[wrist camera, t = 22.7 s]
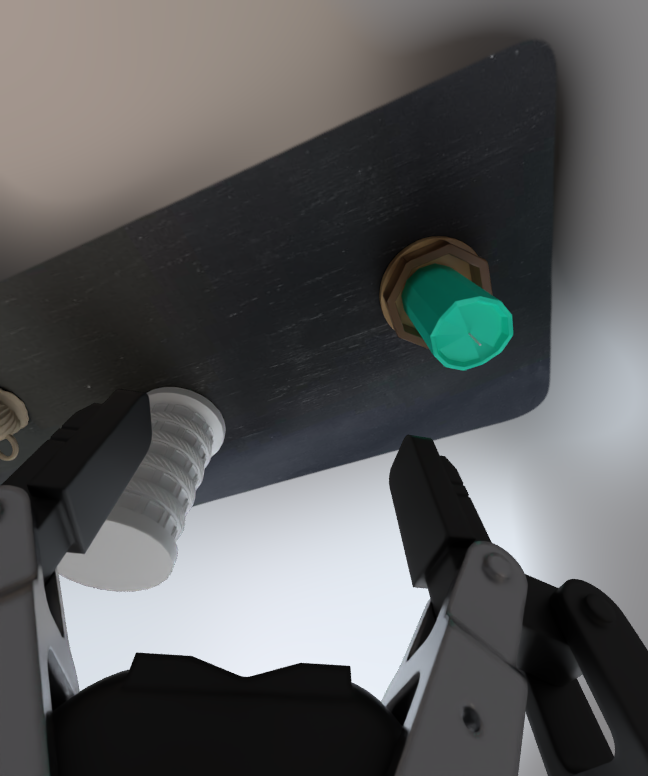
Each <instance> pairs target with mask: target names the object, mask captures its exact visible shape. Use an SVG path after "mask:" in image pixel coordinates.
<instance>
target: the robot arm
mask: <svg viewBox="0 0 648 776" xmlns="http://www.w3.org/2000/svg"><path fill="white" fill-rule="evenodd" d="M151 440H152V425H151V413H150V401H149V396H148V394H147V393H142V392H136V391H130V390H123V389H117V390H116V391H114V392H113V393H112V395H111V396H110V397H109V398H108V399H107V400H106V401H105V402H104V403H103V404H98V403H93V404H91V405H90V406H88V407H86V408H84V409H82V410H80V411H78V412H76V413H75V414H74V415H73V416H72V417H71V418H69V419H68V420H67V421H66V422H65V423H64V424H63V425H62V428H61V429H60V428H59V429H58V430H57V431H56V432H55V433H54V434H53V435H52V436H51V439H50V440H47V441H46V442H45V443H44V444H43V445H42V446H41V447H40V448H39V449H38V450H37V451H36V452H35V453H34V454H33V455H32V456H31V457H29V458H28V459H27V460H26V461H25V462H24V463H23V464H22V465H21V466H20V467H19V468H18V469H17V470H16V471H15V472H14V473H13V474H12V475H11V476H10V477H9V478H8V479H7V480H6V481H5V482H4V483H3V484H2V485H0V776H518V770H519V761H520V754H521V745H522V736H523V728H524V720H525V711H526V714H527V717H528V720H529V723H530V725H531V728H532V731H533V733H534V737H535V740H536V743H537V745H538V748H539V751H540V754H541V757H542V760H543V763H544V766H545V768H546V771H547V774H548V776H648V650H647V649H646V647H645V646H644V644H643V643H642V641H641V640H640V638H639V636H638V635H637V633H636V632H635V630H634V629H633V627H632V626H631V624H630V623H629V621H628V620H627V618H626V617H625V615H624V614H623V612H622V611H621V610H620V608H619V607H618V606H617V605H616V604H615V603H614V602H613V601H612V600H611V599H610V598H609V597H608V596H607V595H606V594H605V593H603V592H602V591H601V590H599V589H598V588H596V587H595V586H593V585H591V584H589V583H587V582H585V581H582V580H578V579H570V580H568V581H566V582H565V583H564V584H563V585H562V586H561V587H560V588H556V587H554V586H552V585H549V584H547V583H545V582H542V581H540V580H538V579H535V578H533V577H531V576H528V575H526V574H524V572H523V570H522V568H521V566H520V565H519V564H518V562H517V561H516V560H515V559H514V558H513V557H512V556H511V555H510V554H509V553H508V552H507V551H505V550H504V549H503V548H501V547H499V546H498V545H495V544H493V543H492V542H491V540H490V538H489V536H488V534H487V532H486V530H485V528H484V526H483V524H482V521H481V519H480V517H479V515H478V513H477V511H476V509H475V507H474V505H473V503H472V501H471V498H469V497H468V495H469V494H468V492H467V490H466V488H465V486H463V482H462V480H461V478H460V476H459V473H458V471H457V469H456V468H455V467H454V466H453V465H452V464H451V463H450V461H449V460H448V459H447V458H446V457H445V456H440V455H439V453H438V451H437V449H436V446H435V444H434V442H433V440H432V439H431V438H426V437H419V436H413V435H407V436H406V437H405V438H404V440H403V442H402V444H401V447H400V449H399V451H398V453H397V456H396V458H395V460H394V462H393V465H392V467H391V470H390V475H389V485H390V491H391V495H392V499H393V503H394V507H395V512H396V516H397V520H398V525H399V529H400V533H401V537H402V542H403V546H404V550H405V555H406V559H407V563H408V567H409V572H410V575H411V580H412V585H413V587H417V588H428V591H429V594H430V600H429V601H428V603H427V604H426V607H425V609H424V611H423V614H422V616H421V618H420V621H419V623H418V626H417V628H416V630H415V633H414V635H413V638H412V640H411V642H410V644H409V647H408V649H407V651H406V654H405V656H404V658H403V661H402V663H401V665H400V667H399V669H398V671H397V673H396V675H395V676H394V678H393V680H392V681H391V683H390V685H389V687H388V689H387V691H386V693H385V695H384V697H383V699H382V701H381V702H380V701H379V700H378V699H377V698H376V697H374V696H373V695H372V694H370V693H369V692H368V691H366V690H365V689H363V688H361V687H360V686H358V685H356V684H354V683H352V682H351V671H350V666H341V665H326V664H309V663H299V664H295V665H291V666H288V667H284V668H280V669H276V670H273V671H269V672H265V673H262V674H258V675H254V676H250V677H242V676H239V675H236V674H234V673H231V672H229V671H226V670H224V669H222V668H219V667H217V666H214V665H212V664H210V663H207V662H205V661H202V660H200V659H197V658H195V657H193V656H182V655H165V654H149V653H136V654H135V657H134V660H133V662H132V665H131V667H130V670H126V671H122V672H119V673H117V674H114V675H111V676H109V677H106V678H104V679H102V680H100V681H98V682H96V683H94V684H92V685H90V686H88V687H87V688H85V689H83V690H82V691H79V685H78V680H77V675H76V671H75V666H74V662H73V659H72V655H71V652H70V647H69V641H68V635H67V628H66V622H65V615H64V608H63V602H62V595H61V588H60V581H59V575H58V570H57V566H58V564H59V563H60V561H61V560H62V558H63V557H64V555H65V554H66V552H68V553H78V554H85V553H86V551H87V550H88V548H89V546H90V545H91V543H92V541H93V540H94V538H95V537H96V535H97V533H98V532H99V530H100V528H101V527H102V525H103V524H104V522H105V520H106V519H107V517H108V516H109V514H110V512H111V511H112V509H113V507H114V506H115V504H116V503H117V501H118V499H119V498H120V496H121V494H122V493H123V491H124V490H125V488H126V486H127V485H128V483H129V481H130V480H131V478H132V477H133V475H134V473H135V472H136V470H137V468H138V467H139V465H140V464H141V462H142V460H143V459H144V457H145V455H146V454H147V452H148V450H149V447H150V444H151ZM581 675H583V676H584V678H585V680H586V682H587V684H588V686H589V688H590V690H591V692H592V694H593V696H594V698H595V700H596V702H597V704H598V706H599V708H600V710H601V712H602V714H603V716H604V718H605V720H606V722H607V724H608V726H609V728H610V730H611V733H612V736H613V739H614V743H615V756H613V754H612V752H611V749H610V747H609V745H608V743H607V741H606V739H605V737H604V735H603V733H602V730H601V729H600V726H599V724H598V722H597V720H596V718H595V716H594V714H593V712H592V709H591V707H590V705H589V703H588V701H587V699H586V697H585V695H584V693H583V691H582V689H581V686H580V684H579V682H578V680H577V678H578V677H579V676H581Z"/></svg>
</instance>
